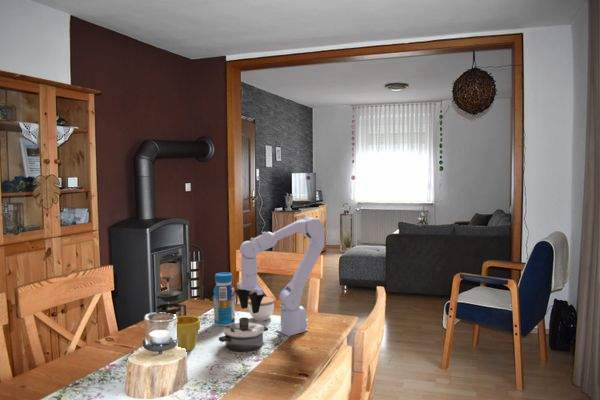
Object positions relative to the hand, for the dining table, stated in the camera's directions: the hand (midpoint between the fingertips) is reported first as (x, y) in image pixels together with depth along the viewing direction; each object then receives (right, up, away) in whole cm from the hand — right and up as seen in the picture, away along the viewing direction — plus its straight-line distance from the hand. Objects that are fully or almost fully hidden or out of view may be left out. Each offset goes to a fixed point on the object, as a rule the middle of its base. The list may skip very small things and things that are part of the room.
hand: (249, 310), depth 182 cm
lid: (-1, -5, -10) cm, 11 cm away
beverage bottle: (-12, -9, +15) cm, 21 cm away
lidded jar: (+3, -8, +22) cm, 23 cm away
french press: (-29, -10, -2) cm, 30 cm away
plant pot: (-21, -11, -11) cm, 26 cm away
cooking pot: (-1, -10, -9) cm, 14 cm away
